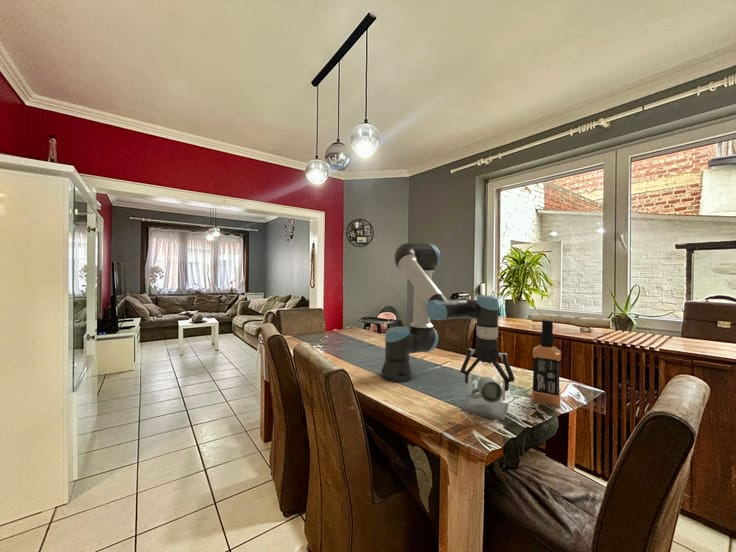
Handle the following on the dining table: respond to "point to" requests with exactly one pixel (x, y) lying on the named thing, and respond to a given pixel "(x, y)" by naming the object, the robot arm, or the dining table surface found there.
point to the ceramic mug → (487, 390)
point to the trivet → (486, 408)
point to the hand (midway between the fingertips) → (486, 395)
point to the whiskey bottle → (546, 368)
